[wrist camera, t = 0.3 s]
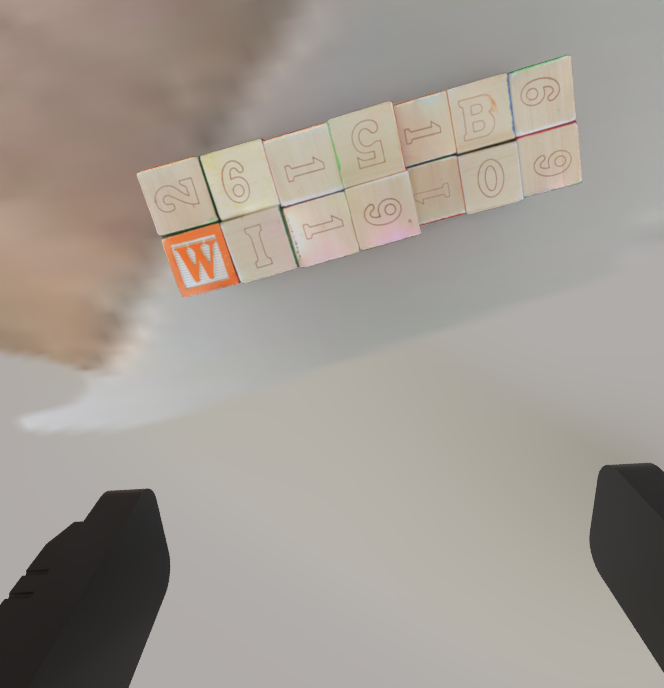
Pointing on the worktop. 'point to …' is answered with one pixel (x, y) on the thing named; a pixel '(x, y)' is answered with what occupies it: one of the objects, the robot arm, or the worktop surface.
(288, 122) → the worktop surface
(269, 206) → the stack of blocks
